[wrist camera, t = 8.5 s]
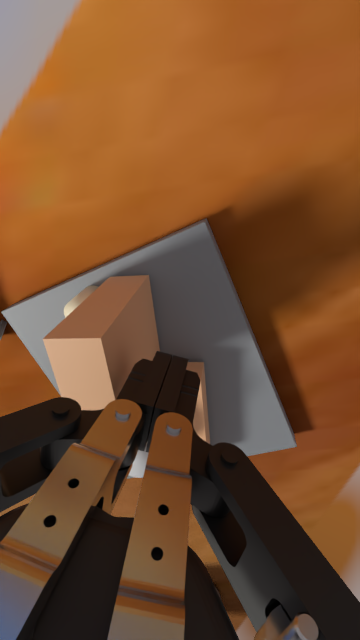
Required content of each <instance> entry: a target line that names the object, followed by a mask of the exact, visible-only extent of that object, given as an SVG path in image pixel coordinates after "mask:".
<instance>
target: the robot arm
mask: <svg viewBox="0 0 360 640" xmlns="http://www.w3.org/2000/svg"><path fill="white" fill-rule="evenodd" d="M188 360H189V359H187V358H183V357H179V356H176V355H173V357H172V354H168V353H164V352H160V351H157V352H156V354H155V356H154V358H153V361H151V360H147V359H141V360H140V361H138V362H137V363H135V365H134V367H133V368H132V370H131V372H130V374H129V376H128V378H127V380H126V382H125V384H124V385H123V387H122V389H121V391H120V393H119V395H118V397H117V399H116V400H114V401H112V402H110V403H109V404H107V406H106V407H105V408H104V409H101V410H81V406H80V405H79V403H78V402H77V401H75V400H73V399H71V398H66V397H59V398H54V399H51V400H48V401H45V402H42V403H39V404H37V405H34V406H31V407H28V408H25V409H22V410H20V411H17V412H14V413H11V414H8V415H5V416H2V417H0V512H1V511H3V510H5V509H7V508H9V507H11V506H13V505H15V504H17V503H18V502H20V501H22V500H24V499H26V498H28V497H30V496H32V495H34V494H35V493H36V494H35V496H34V497H33V499H32V500H31V501H30V503H29V504H26V505H23V506H20V507H18V508H15V509H13V510H11V511H9V512H7V513H6V514H4V515H2V516H0V640H239V638H238V636H237V634H236V632H235V630H234V627H233V625H232V623H231V621H230V619H229V616H228V614H227V612H226V610H225V608H224V606H223V603H222V601H221V597H220V593H219V592H218V590H217V589H216V587H215V586H214V584H213V582H212V579H211V577H210V575H209V573H208V571H207V569H206V567H205V566H204V564H203V562H202V561H201V559H200V558H199V557H198V556H197V554H196V553H195V552H194V551H193V550H192V549H191V548H190V547H189V546H188V531H189V516H190V504H191V505H192V510H193V513H194V515H195V517H196V519H197V521H198V523H199V525H200V527H201V529H202V531H203V532H204V534H205V536H206V538H207V540H208V542H209V544H210V546H211V547H212V549H213V551H214V553H215V555H216V557H217V559H218V561H219V563H220V564H221V566H222V568H223V570H224V572H225V574H226V576H227V578H228V579H229V581H230V583H231V585H232V587H233V589H234V591H235V593H236V595H237V596H238V598H239V600H240V602H241V604H242V606H243V608H244V610H245V612H246V613H247V615H248V617H249V619H250V621H251V623H252V625H253V627H254V628H255V630H256V632H257V633H256V635H255V637H254V640H360V602H359V601H358V600H357V598H356V597H355V596H354V595H353V594H352V592H351V591H350V589H349V588H348V587H347V586H346V584H345V583H344V582H343V580H342V579H341V578H340V576H339V575H338V574H337V572H336V571H335V570H334V569H333V567H332V566H331V565H330V563H329V562H328V561H327V559H326V558H325V557H324V556H323V555H322V553H321V552H320V550H319V549H318V548H317V546H316V545H315V544H314V543H313V541H312V540H311V539H310V537H309V536H308V535H307V534H306V532H305V531H304V530H303V528H302V527H301V526H300V524H299V523H298V522H297V521H296V519H295V518H294V517H293V515H292V514H291V513H290V511H289V510H288V509H287V508H286V506H285V505H284V504H283V502H282V501H281V500H280V498H279V497H278V496H277V495H276V493H275V492H274V491H273V489H272V488H271V487H270V485H269V484H268V483H267V482H266V480H265V479H264V478H263V476H262V475H261V474H260V473H259V471H258V470H257V469H256V467H255V466H254V465H253V463H252V462H251V461H250V460H249V458H248V457H247V456H246V454H245V453H244V452H243V451H242V450H241V449H240V448H239V447H237V446H235V445H233V444H231V443H226V442H220V443H217V444H215V445H213V446H212V445H211V444H209V443H207V442H206V441H204V440H203V439H202V438H200V437H199V436H198V435H197V433H196V432H195V430H194V427H193V419H194V414H195V409H196V403H197V398H198V392H199V387H200V378H199V376H198V373H196V372H193V371H189V370H186V368H187V364H188ZM146 445H147V447H146ZM145 448H146V452H148V458H147V462H146V467H145V471H144V476H143V480H142V485H141V489H140V494H139V498H138V503H137V507H136V512H135V516H134V518H127V517H114V516H111V513H112V510H113V508H114V506H115V503H116V501H117V499H118V497H119V495H120V492H121V490H122V488H123V486H124V484H125V481H126V479H127V477H128V475H129V473H130V471H131V468H132V465H133V462H134V460H135V458H136V455H137V452H138V450H140V451H145Z"/></svg>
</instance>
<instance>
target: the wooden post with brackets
mask: <svg viewBox="0 0 360 640" xmlns="http://www.w3.org/2000/svg"><path fill="white" fill-rule="evenodd" d="M6 324H7V322H6V321H4V320H3V319H2V320H1V321H0V340H1V338H2V335H3V333H4V330H5V327H6Z"/></svg>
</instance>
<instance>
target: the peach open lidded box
mask: <svg viewBox="0 0 360 640" xmlns="http://www.w3.org/2000/svg"><path fill="white" fill-rule="evenodd" d="M43 342H44V345H45V348H46V351H47V354H48V357H49V360H50V363H51V366H52V369H53V373H54V376H55V379H56V382H57V385H58V388H59V391H60V394H61V397H66V398H71V399H73V400H75V401H77V402H78V403H79V405H80V406H81V410H101V409H104V408H105V407H106V406H107V404H109V403H110V402H112V401H114V400H116V399H117V397H118V395H119V393H120V391H121V389H122V387H123V385H124V384H125V382H126V380H127V378H128V376H129V374H130V372H131V370H132V368H133V367H134V365H135V363H137V362H138V361H140V360H141V359H147V360H151V361H153V358H154V356H155V354H156V352H157V351H160V348H159V341H158V334H157V327H156V320H155V314H154V307H153V300H152V293H151V286H150V279H149V275H137V276H116V277H109V278H108V279H107V280H106V281H105V282H104V283H103V284H101V285H100V286H99V287H98V288H97V289H96V290H95V291H94V292H93V293H92V294H91V295H90V296H88V297H87V298H86V299H85V300H84V301H83V302H82V303H81V304H80V305H79V306H78V307H77V308H75V309H74V310H73V311H72V312H71V313H70V314H69V315H68V316H67V317H66V318H65V319H64V320H62V321H61V322H60V323H59V324H58V325H57V326H56V327H55V328H54V329H53V330H52V331H51V332H49V333H48V334H47V335H46V336H45V337H44V338H43ZM186 370H189V371H193V372H196V373H198V376H199V378H200V387H199V392H198V398H197V403H196V409H195V414H194V419H193V427H194V430H195V432H196V433H197V435H198V436H199V437H200V438H202V439H203V440H204V441H206V442H207V443H209V444H210V434H209V421H208V409H207V396H206V383H205V371H204V362H188V364H187V368H186Z"/></svg>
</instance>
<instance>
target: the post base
mask: <svg viewBox="0 0 360 640" xmlns="http://www.w3.org/2000/svg"><path fill="white" fill-rule="evenodd" d="M137 275H149V279H150V286H151V293H152V300H153V307H154V314H155V320H156V327H157V334H158V341H159V348H160V352H164V353H168V354H172V357H173V355H176V356H179V357H183V358H187V359H189V360H188V362H204V371H205V383H206V396H207V409H208V421H209V434H210V444H211V445H212V446H213V445H215V444H217V443H220V442H226V443H231V444H233V445H235V446H237V447H239V448H240V449H241V450H242V451H243V452H244V453H245V454H246V456H250V455H255V454H261V453H266V452H271V451H277V450H282V449H287V448H293V447H297V445H296V441H295V436H294V433H293V430H292V428H291V425H290V423H289V420H288V418H287V415H286V413H285V410H284V408H283V405H282V403H281V401H280V398H279V396H278V393H277V391H276V388H275V386H274V383H273V381H272V378H271V376H270V373H269V371H268V368H267V366H266V364H265V361H264V359H263V356H262V354H261V351H260V349H259V346H258V344H257V341H256V339H255V336H254V334H253V331H252V329H251V327H250V324H249V322H248V319H247V317H246V314H245V312H244V309H243V307H242V304H241V302H240V299H239V297H238V294H237V292H236V290H235V287H234V285H233V282H232V280H231V277H230V275H229V272H228V270H227V267H226V265H225V262H224V260H223V257H222V255H221V253H220V250H219V248H218V245H217V243H216V240H215V238H214V235H213V233H212V230H211V228H210V225H209V223H208V220H207V218H205V219H203V220H201V221H199V222H197V223H194V224H192V225H190V226H188V227H185V228H183V229H181V230H179V231H176V232H174V233H172V234H170V235H167V236H165V237H163V238H161V239H158V240H156V241H154V242H152V243H150V244H147V245H145V246H143V247H141V248H138V249H136V250H134V251H132V252H129V253H127V254H125V255H123V256H120V257H118V258H116V259H114V260H111V261H109V262H107V263H105V264H102V265H100V266H98V267H96V268H94V269H91V270H89V271H87V272H85V273H82V274H80V275H78V276H76V277H73V278H71V279H69V280H67V281H64V282H62V283H60V284H58V285H55V286H53V287H51V288H49V289H47V290H44V291H42V292H40V293H38V294H35V295H33V296H31V297H29V298H26V299H24V300H22V301H20V302H17V303H15V304H13V305H11V306H10V307H8V308H6V309H5V310H3V311H2V312H1V313H2V314H3V315H4V317H5V318H6V320H7V321H8V322H9V324H10V325H11V327H12V328H13V329H14V331H15V332H16V334H17V335H18V336H19V338H20V339H21V341H22V342H23V343H24V345H25V346H26V348H27V349H28V350H29V352H30V353H31V355H32V356H33V357H34V359H35V360H36V362H37V363H38V364H39V366H40V367H41V369H42V370H43V371H44V373H45V374H46V376H47V377H48V378H49V380H50V381H51V383H52V384H53V385H54V387H55V388H56V390H57V391H58V392H59V394H60V391H59V388H58V385H57V382H56V379H55V376H54V373H53V369H52V366H51V363H50V360H49V357H48V354H47V351H46V348H45V345H44V342H43V338H44V337H45V336H46V335H47V334H48V333H49V332H51V331H52V330H53V329H54V328H55V327H56V326H57V325H58V324H59V323H60V322H61V321H62V320H64V319H65V318H66V317H67V316H68V315H69V314H70V313H71V312H72V311H73V310H74V309H75V308H77V307H78V306H79V305H80V304H81V303H82V302H83V301H84V300H85V299H86V298H87V297H88V296H90V295H91V294H92V293H93V292H94V291H95V290H96V289H97V288H98V287H99V286H100V285H101V284H103V283H104V282H105V281H106V280H107V279H108V278H109V277H116V276H137ZM60 395H61V394H60ZM146 447H147V445H146ZM147 458H148V452H146V448H145V451H140V450H138V452H137V455H136V458H135V460H134V462H133V465H132V468H131V471H130V473H129V475H128V477H127V479H128V478H133V477H137V478H143V476H144V471H145V467H146V462H147Z"/></svg>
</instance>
